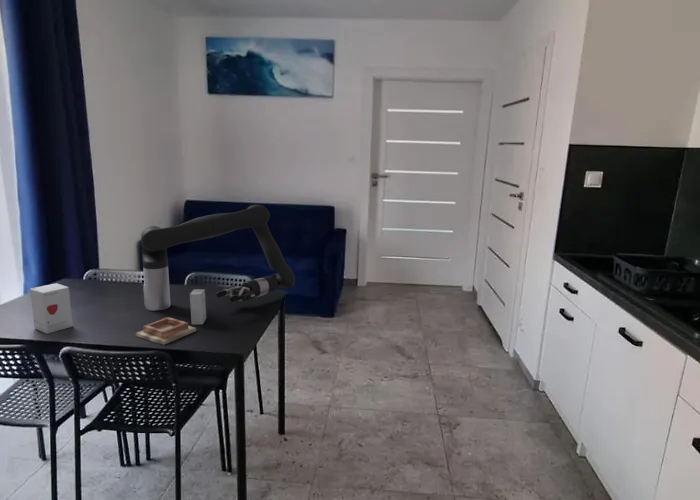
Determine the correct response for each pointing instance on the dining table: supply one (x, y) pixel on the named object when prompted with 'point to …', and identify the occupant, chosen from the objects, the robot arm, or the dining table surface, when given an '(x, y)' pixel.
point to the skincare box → (198, 306)
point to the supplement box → (51, 308)
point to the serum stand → (165, 330)
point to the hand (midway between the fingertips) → (223, 297)
